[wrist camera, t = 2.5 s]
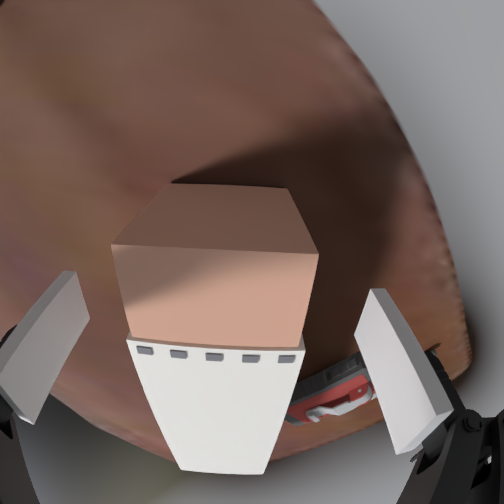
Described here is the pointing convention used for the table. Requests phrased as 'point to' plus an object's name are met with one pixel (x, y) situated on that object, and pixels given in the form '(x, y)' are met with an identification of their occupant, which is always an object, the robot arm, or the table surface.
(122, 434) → the table surface
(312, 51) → the table surface
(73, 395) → the table surface
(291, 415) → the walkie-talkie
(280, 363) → the block
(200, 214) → the peach rectangular block
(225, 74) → the table surface
